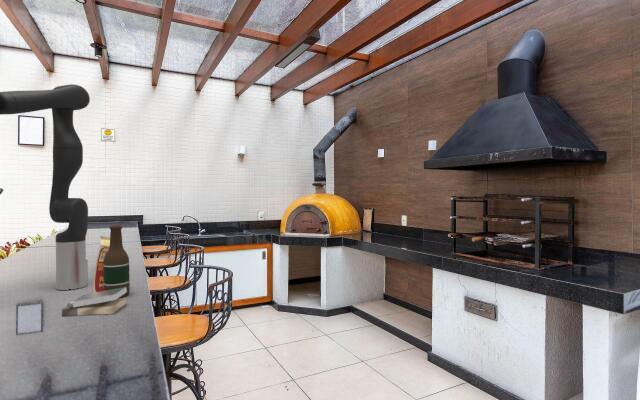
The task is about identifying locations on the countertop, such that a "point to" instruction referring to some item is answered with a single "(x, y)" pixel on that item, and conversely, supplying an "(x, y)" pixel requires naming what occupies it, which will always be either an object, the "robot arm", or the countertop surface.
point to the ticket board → (95, 308)
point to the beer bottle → (116, 263)
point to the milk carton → (100, 264)
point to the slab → (98, 297)
